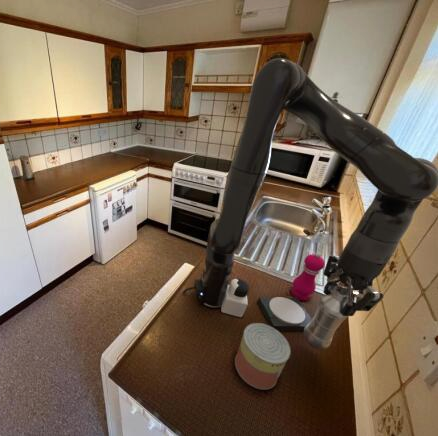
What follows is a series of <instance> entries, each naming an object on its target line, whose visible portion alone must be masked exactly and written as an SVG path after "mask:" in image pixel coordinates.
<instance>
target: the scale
mask: <svg viewBox="0 0 438 436" xmlns="http://www.w3.org/2000/svg"><path fill="white" fill-rule="evenodd" d="M257 303H258V306H259V307H260V309H261V312H262V314H263V315H264V317H265V320H266V322H267V325H269V326H271V327H273V328H275V329H276V330H278V331H279V332H304V328H305V327H306V326H307V325H308V324H309V323H310V322H311V320H312V319H313V318H312V317H311V315H310V314H309V313H308V311H307V310H306V309H305V307H304V305H303V304H302V303H301V300H300V299H298V298H296V297H282V296H277V297H273V296H272V297H270V296H269V297H263V296H260V297H258V299H257Z"/></svg>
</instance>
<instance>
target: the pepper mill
mask: <svg viewBox="0 0 438 436" xmlns="http://www.w3.org/2000/svg"><path fill="white" fill-rule="evenodd" d="M303 263H304V264H303V267H302V269H303V270H302V272H301V274H299V275H298V276H296V277H295V278H294V279H293V281H292V288H291V289H290V293H291V295H292V296H293V298H298V300H299V301H308V300H310V298H311V295H313V294H314V293H315V291H316V287H317V285H316V277H317V275H319V274H320V272H321V270H323V269H325V267H326V262H325V259H324V258H323V257H322V254H321V253H320V252H315V253H312V254H308V255H306V256H305V258H304V262H303Z"/></svg>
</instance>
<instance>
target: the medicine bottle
mask: <svg viewBox="0 0 438 436" xmlns="http://www.w3.org/2000/svg"><path fill="white" fill-rule="evenodd" d="M249 291H250V286H249V284H248V283H247V281H245V280H243V279H241V278H234V279H231V280H230V283H229V284H228V288H227V291H226V293H225V297H224V300H223V303H222V306H221V307H220V309H221V310H220V311H221V313H223V314H226V315H230V316H234V317H238V318H242V317H243V316H244V315H245V312H246V310H247V307H248V305H249V303H248V294H249Z"/></svg>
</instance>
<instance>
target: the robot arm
mask: <svg viewBox="0 0 438 436" xmlns="http://www.w3.org/2000/svg"><path fill="white" fill-rule="evenodd" d="M283 110H284V111H286V112H288V113H290V114H292V115H294V116H295V117H296V118H298V119H300V120H301V121H302V122H304V123H305V124H306V125H307V126H308V127H309V128H310V129H312V131H313V132H314V133H315V134H316V135H317V136H318V137H319V138H320V140H322V142H324V143H325V144H326V146H327V147H329V148H330V149H331V150H332V151H333V152H335V153H336V154H338V155H339V156H340V157H341V158H343V159H344V160H345V161H347V162H348V163H349V164H351V165H352V166H354V167H355V168H356V169H357V170H359V172H360V173H361V174H363V176H364V177H365V178H366V180H368V181H369V183H370V184H372V186H374V187H375V188H376V189H377V191H376V193H375V195H374V198H373V199H372V202H371V203H370V205H369V206H368V207H367V209H366V210H365V211H364V213H363V215H362V217H361V218H360V220H359V222H358V224H357V227H356V228H355V229H354V231H353V232H352V233H351V234H350V236H349V239H348V240H347V241H346V244H345V246H344V248H343V249H342V252H341V253H340V255H329V256H328V259H327V261H326V263H325V266H324V270H323V275H324V277H326V284H325V285H324V288H323V293H324V296H325V295H327V294H331V291H332V290H333V289H334V287H335V286H339V284H340V283H342V284H343V285H344V287H345V288H347V289H346V294H347V295H348V303H346V304H345V306H344V308H343V309H342V311H341V314H342V315H343V316H348V317H353V316H354V315H355V314H356V313H357V312H370V311H372V309H373V308H374V307H375V306H376V305H377V304H378V303H380V301H382V300H383V299H384V294H383V293H382V292H377V290H375V288H374V287H373V285H374V284H373V282H374V280H375V279H376V278H378V277H379V276H380V275H381V274H382V272H383V271H384V269H385V267H386V266H387V264H388V263H389V261H390V260H391V259H392V257H393V255H394V254H395V253H396V251H397V249H398V246H399V243H400V242H401V240H402V238H403V237H404V236H405V234H406V232H407V231H408V229H409V228H410V226H411V224H412V222H413V218H414V215H415V212H416V211H417V209H418V208H419V206H420V205H421V203H422V202H423V201H424V200H426V199H427V198H429V197H430V196H432V195H433V194H434V193H435V192H436V190H437V189H438V167H437V166H436V164H434V163H433V162H432V161H430V160H428V159H427V158H426V159H425V158H421V157H413V156H412V154H409V153H408V152H407V151H405V150H404V149H402V148H400V147H399V146H398V145H397V144H396V142H395V141H394V139H393V138H392V137H391V136H390V135H388V134H387V133H386V132H385V131H383V130H382V129H380V128H378V127H377V126H375V125H374V124H373V123H371V122H370V121H368V120H367V119H365V118H363V117H362V116H360V115H359V114H357V113H356V112H354V111H352V110H351V109H349V108H347V107H346V106H344V105H343V104H340V103H339V102H338V101H336V100H335V99H333V97H330V96H329V95H328V94H327V93H326V92H325V91H323V89H321V88H320V87H319V86H318V85H317V84H316V83H315V82H314V81H313V80H312V79H311V78H310V77H309V76H308V74H306V72H305V71H304V70H303V67H302V66H301V65H300V64H297V63H296V62H295V61H292V60H289V59H287V58H282V57H277V58H273V59H271V60H269V61H267V62H266V63H265V64H263V66H261V67H260V69H258V72H257V73H256V74H255V77H254V79H253V82H252V84H251V89H250V93H249V99H248V104H247V109H246V114H245V118H244V122H243V126H242V129H241V132H240V135H239V138H238V142H237V144H236V148H235V151H234V154H233V157H232V160H231V163H230V166H229V170H228V173H227V177H226V181H225V185H224V190H223V191H224V192H223V197H222V198H223V199H222V206H221V212H220V215H219V218H216V219H215V220H214V221H212V223H211V224H210V227H209V230H208V237H207V243H206V248H205V250H206V251H205V258H204V263H203V264H204V265H203V269H202V273H201V274H200V276H199V277H200V278H199V279H198V278H197V279H196V278H195V279H194V282H193V286H191V287H187V288H185V290H183V291H182V293H183V294H186V293H187V292H188V291H191V290H194V293H195V296H196V297H198V299H199V303H200V305H201V306H205V307H206V308H209V309H214V310H215V309H221V306H222V303H223V300H224V297H225V293H226V291H227V288H228V285H230V281H231V280H230V279H231V275H232V270H233V267H234V263H235V252H236V251H237V250H239V248H240V246H241V243H242V239H243V235H244V231H245V228H246V224H247V220H248V218H249V215H250V213H251V211H252V209H253V206H254V204H255V202H256V200H257V198H258V195H259V192H260V190H261V188H262V185H263V183H264V181H265V178H266V175H267V173H268V169H269V166H270V164H271V163H270V162H271V156H272V146H273V145H272V144H273V138H274V133H275V129H276V128H277V127H276V126H277V124H278V122H279V120H280V117H281V115H282V112H283Z"/></svg>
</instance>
